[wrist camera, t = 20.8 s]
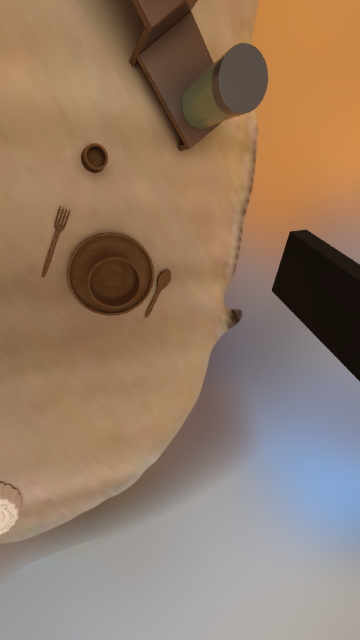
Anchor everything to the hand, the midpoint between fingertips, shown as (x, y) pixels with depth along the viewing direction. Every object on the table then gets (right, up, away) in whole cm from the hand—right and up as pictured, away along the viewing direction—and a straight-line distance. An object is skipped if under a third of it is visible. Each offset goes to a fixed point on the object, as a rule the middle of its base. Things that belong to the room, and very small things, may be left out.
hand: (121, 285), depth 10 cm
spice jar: (+4, +23, +23) cm, 33 cm away
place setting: (-7, +9, +31) cm, 33 cm away
